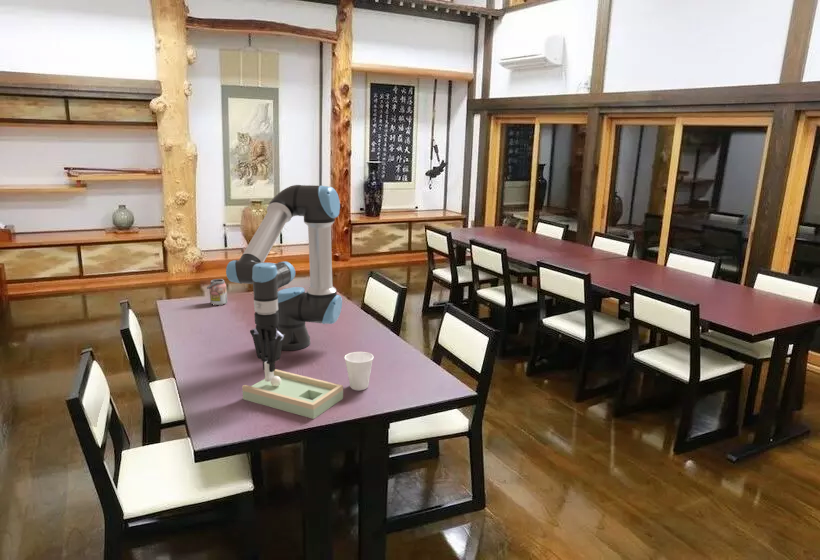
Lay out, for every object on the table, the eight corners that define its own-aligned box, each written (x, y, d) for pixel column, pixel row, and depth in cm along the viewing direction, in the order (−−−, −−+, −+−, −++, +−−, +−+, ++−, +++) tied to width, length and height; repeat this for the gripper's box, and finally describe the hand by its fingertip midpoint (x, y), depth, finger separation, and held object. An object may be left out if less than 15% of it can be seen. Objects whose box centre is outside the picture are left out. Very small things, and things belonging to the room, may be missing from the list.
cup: (345, 381, 202) (344, 351, 199) (373, 380, 203) (373, 351, 200) (344, 393, 193) (343, 362, 190) (374, 393, 193) (374, 362, 191)
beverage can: (205, 305, 287) (203, 282, 284) (213, 300, 295) (211, 278, 292) (222, 306, 286) (221, 283, 283) (230, 301, 294) (229, 279, 291)
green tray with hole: (243, 399, 187) (242, 386, 186) (275, 381, 201) (274, 369, 200) (313, 418, 175) (313, 405, 174) (343, 398, 189) (342, 385, 188)
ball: (266, 379, 189) (274, 377, 187) (273, 374, 192) (281, 373, 190) (270, 388, 190) (277, 387, 188) (277, 384, 193) (284, 383, 191)
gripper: (242, 311, 185) (246, 379, 191) (274, 317, 179) (277, 388, 185) (258, 305, 191) (262, 372, 197) (290, 311, 186) (292, 379, 191)
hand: (269, 379), depth 191 cm, fingers closed
